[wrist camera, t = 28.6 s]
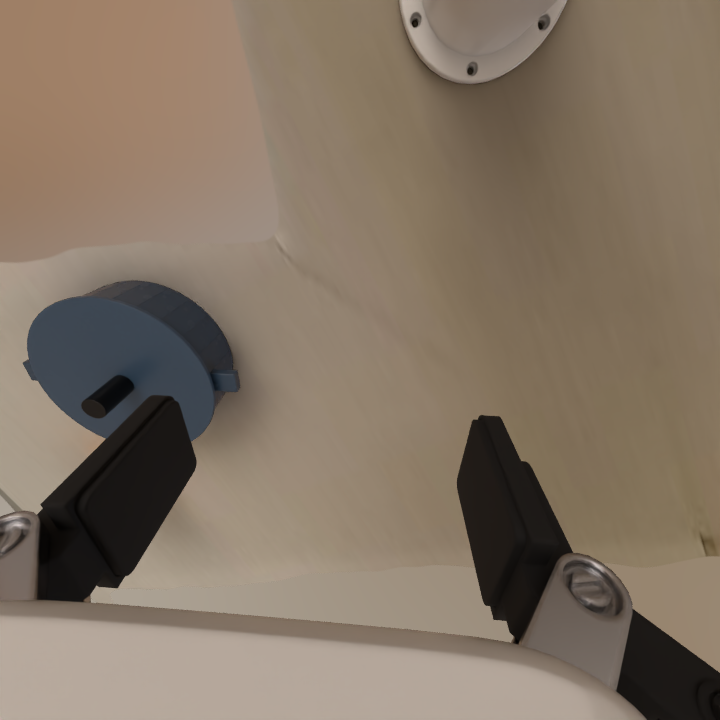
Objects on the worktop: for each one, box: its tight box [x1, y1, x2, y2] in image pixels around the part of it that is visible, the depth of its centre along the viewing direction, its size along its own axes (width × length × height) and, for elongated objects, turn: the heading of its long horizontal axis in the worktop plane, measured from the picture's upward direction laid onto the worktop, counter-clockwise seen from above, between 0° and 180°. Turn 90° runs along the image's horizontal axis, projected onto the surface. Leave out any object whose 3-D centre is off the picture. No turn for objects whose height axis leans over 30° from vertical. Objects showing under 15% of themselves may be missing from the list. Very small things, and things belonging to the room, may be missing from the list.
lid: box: [27, 296, 215, 441], centre depth 36 cm, size 20×20×6 cm
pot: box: [23, 281, 240, 408], centre depth 40 cm, size 19×24×6 cm
